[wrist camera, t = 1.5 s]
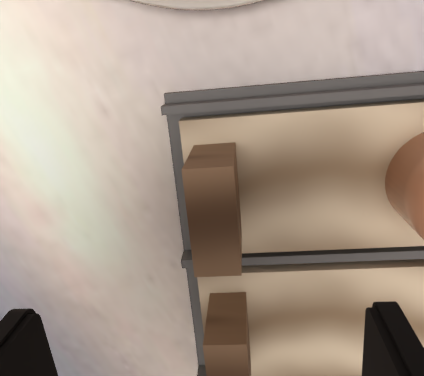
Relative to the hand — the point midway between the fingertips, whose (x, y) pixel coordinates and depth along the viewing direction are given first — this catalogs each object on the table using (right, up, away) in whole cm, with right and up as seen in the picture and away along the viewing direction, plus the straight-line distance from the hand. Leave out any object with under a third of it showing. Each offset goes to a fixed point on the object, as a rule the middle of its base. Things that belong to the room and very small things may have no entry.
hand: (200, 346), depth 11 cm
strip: (+11, -4, +18) cm, 21 cm away
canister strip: (+10, +6, +14) cm, 18 cm away
